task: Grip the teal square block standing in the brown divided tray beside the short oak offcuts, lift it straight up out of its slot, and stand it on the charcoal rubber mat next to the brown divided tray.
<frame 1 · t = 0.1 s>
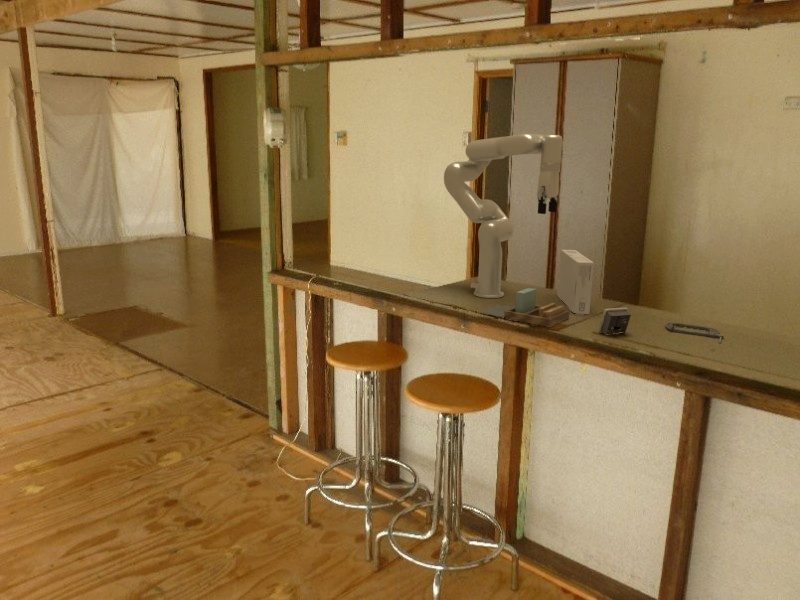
hand: (547, 212, 261), 37 cm above the counter, tool pointing down, fingers open, 9 cm apart
teal square block: (524, 316, 250), resting in brown divided tray
packaging: (572, 305, 270), on the counter
mat: (502, 312, 256), on the counter
offcuts: (550, 314, 244), in the brown divided tray
electrical switch: (614, 334, 230), on the counter
brown divided tray: (536, 318, 247), on the counter
c clamp: (693, 334, 234), on the counter
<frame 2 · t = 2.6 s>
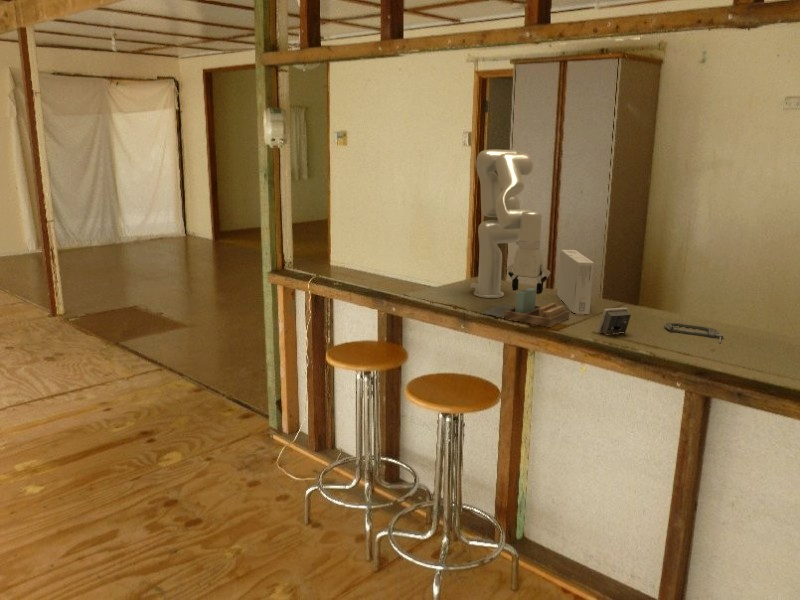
hand: (527, 291, 247), 10 cm above the counter, tool pointing down, fingers open, 9 cm apart
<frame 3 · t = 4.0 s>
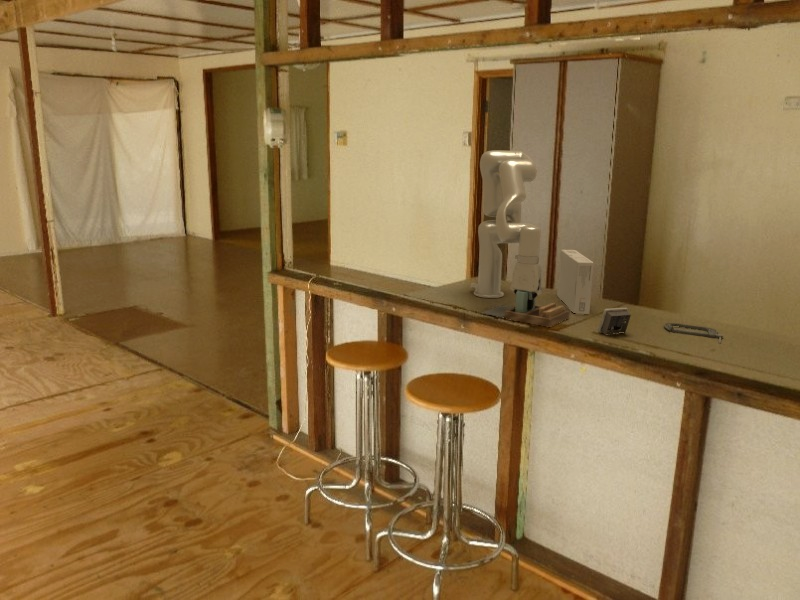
hand: (525, 308, 250), 3 cm above the counter, tool pointing down, fingers closed on teal square block, 3 cm apart
teal square block: (524, 316, 250), resting in brown divided tray, touching gripper
everything else where it was.
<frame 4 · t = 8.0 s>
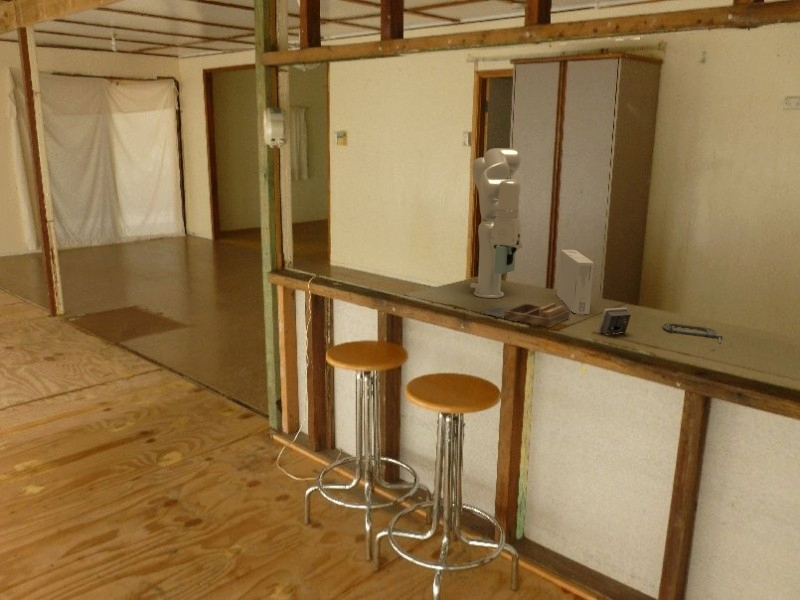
hand: (504, 263, 251), 19 cm above the counter, tool pointing down, fingers closed on teal square block, 3 cm apart
teal square block: (504, 271, 252), point 16 cm above the counter, touching gripper
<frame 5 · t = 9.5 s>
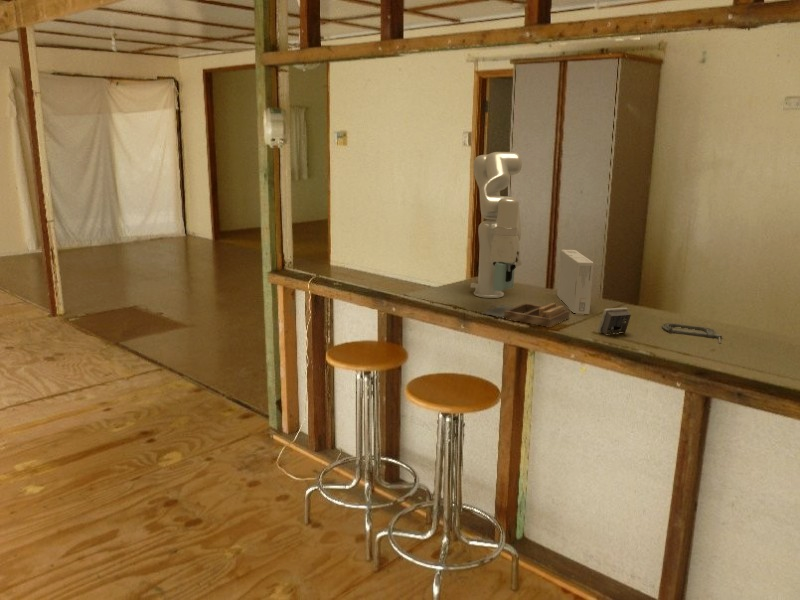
hand: (504, 280, 253), 13 cm above the counter, tool pointing down, fingers closed on teal square block, 3 cm apart
teal square block: (503, 288, 253), point 9 cm above the counter, touching gripper
when the fingers open (5 cm above the counter, at t = 11.5 s): teal square block stays where it is, resting on mat.
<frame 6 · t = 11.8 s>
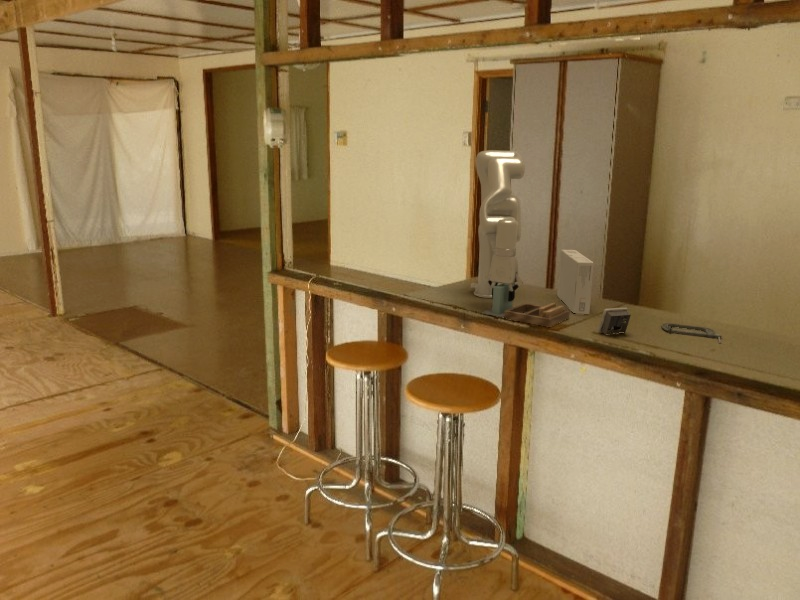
hand: (502, 299, 255), 5 cm above the counter, tool pointing down, fingers open, 6 cm apart
teal square block: (502, 310, 256), point 1 cm above the counter, touching mat
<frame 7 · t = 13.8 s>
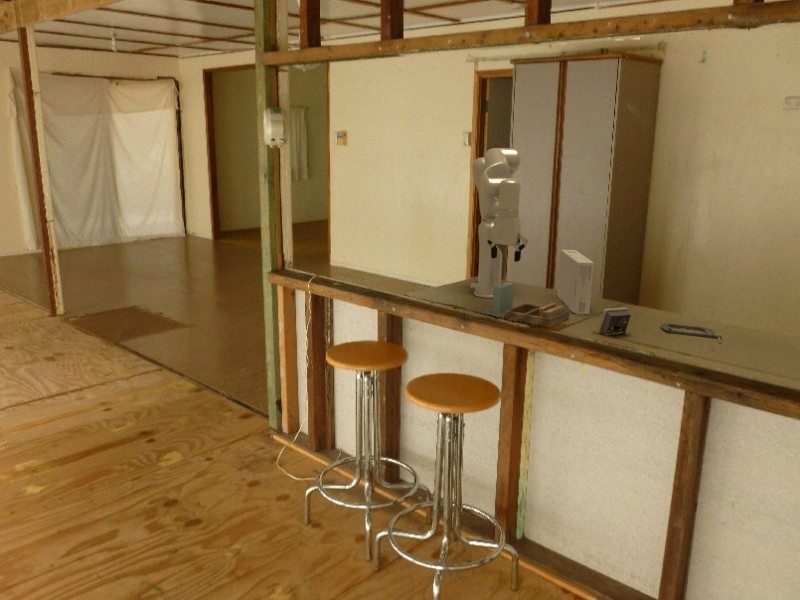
hand: (505, 259, 251), 20 cm above the counter, tool pointing down, fingers open, 9 cm apart
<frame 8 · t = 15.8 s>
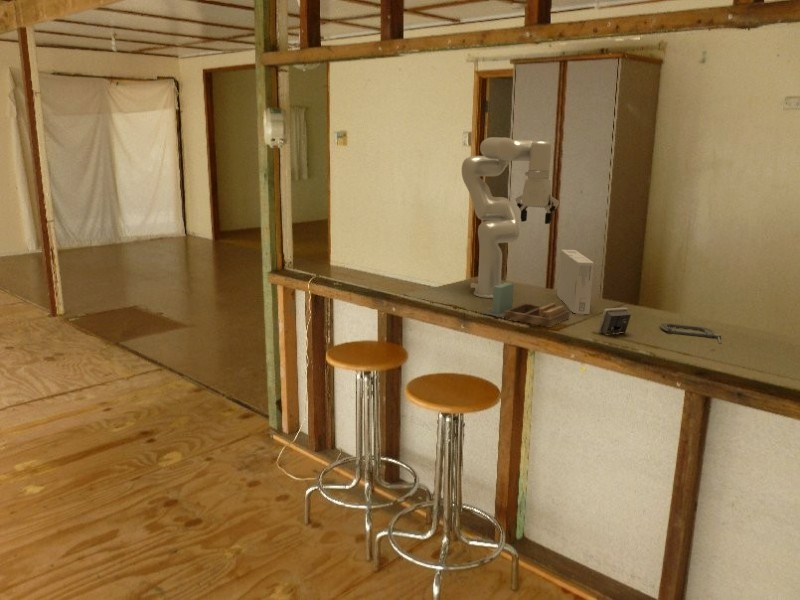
hand: (535, 222, 250), 34 cm above the counter, tool pointing down, fingers open, 9 cm apart
at the end: teal square block inside the target area (0.1 cm from its centre), point 0.6 cm above the counter; teal square block tilted 0°; the gripper is holding nothing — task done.
